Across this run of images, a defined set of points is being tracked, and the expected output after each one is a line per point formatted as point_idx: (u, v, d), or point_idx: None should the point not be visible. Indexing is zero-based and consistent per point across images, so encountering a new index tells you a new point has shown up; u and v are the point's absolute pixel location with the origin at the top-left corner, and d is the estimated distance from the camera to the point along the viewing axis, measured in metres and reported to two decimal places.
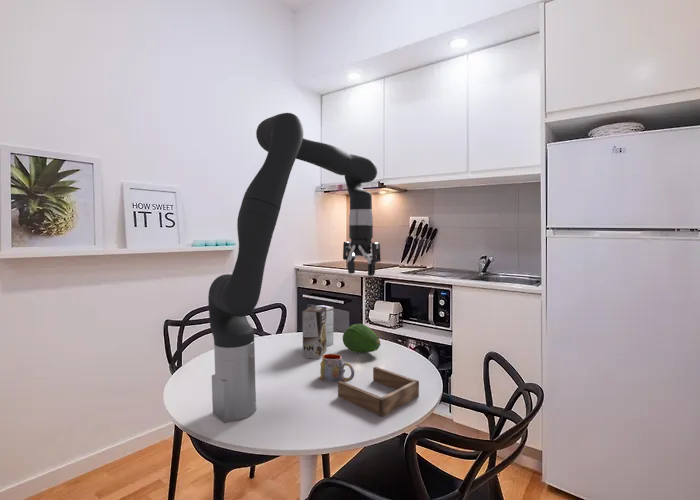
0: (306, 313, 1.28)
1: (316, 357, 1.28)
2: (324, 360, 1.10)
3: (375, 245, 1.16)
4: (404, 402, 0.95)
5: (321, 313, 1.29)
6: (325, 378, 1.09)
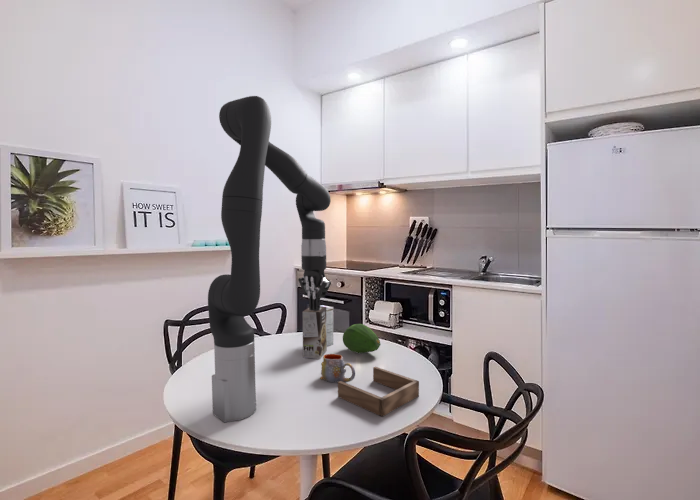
0: (306, 313, 1.28)
1: (316, 357, 1.28)
2: (325, 360, 1.10)
3: (325, 285, 1.11)
4: (404, 402, 0.95)
5: (321, 313, 1.29)
6: (326, 378, 1.09)
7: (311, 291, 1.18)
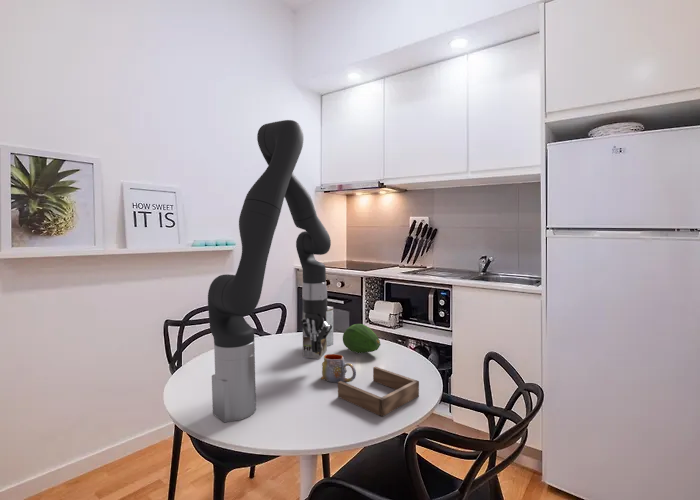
0: None
1: (316, 357, 1.28)
2: (326, 360, 1.10)
3: (326, 329, 1.12)
4: (404, 402, 0.95)
5: None
6: (327, 378, 1.09)
7: None
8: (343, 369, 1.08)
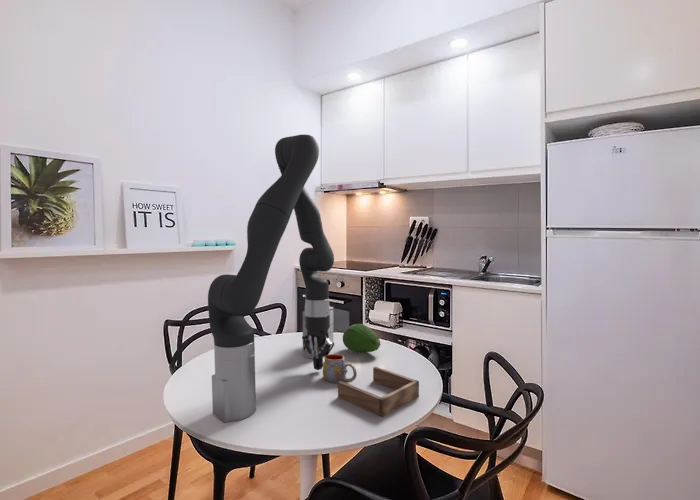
0: None
1: None
2: (326, 360, 1.09)
3: (328, 347, 1.11)
4: (404, 402, 0.95)
5: None
6: (327, 378, 1.08)
7: None
8: (344, 369, 1.08)
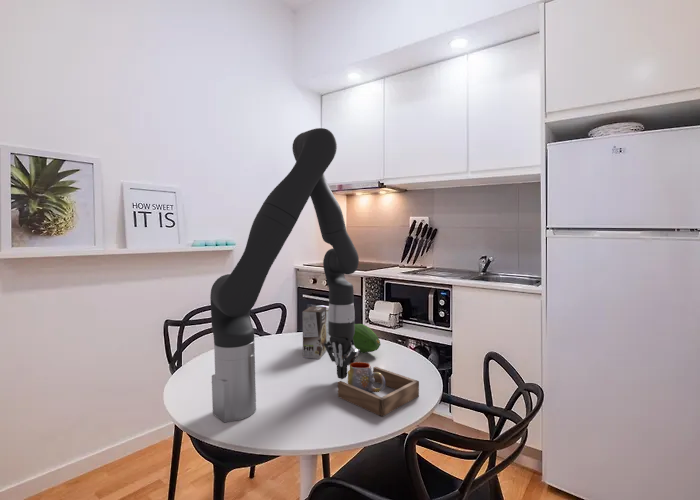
0: (306, 313, 1.28)
1: (316, 357, 1.28)
2: (352, 369, 1.03)
3: (354, 355, 1.04)
4: (404, 402, 0.95)
5: (321, 313, 1.29)
6: None
7: None
8: (371, 378, 1.01)
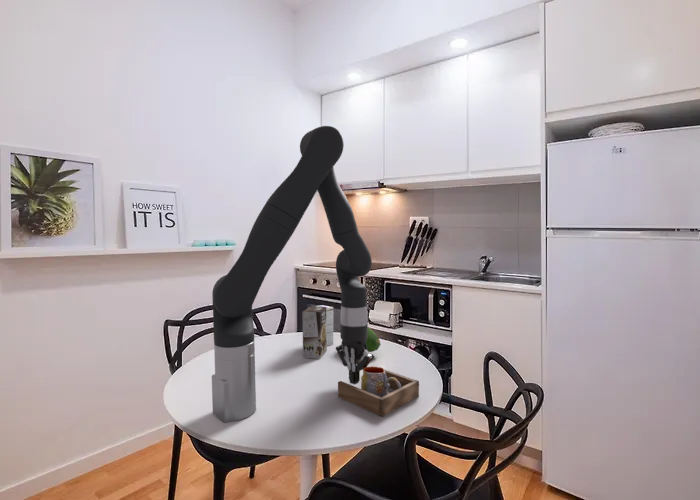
0: (306, 313, 1.28)
1: (316, 357, 1.28)
2: (366, 374, 0.99)
3: (367, 360, 1.00)
4: (404, 402, 0.95)
5: (321, 313, 1.29)
6: None
7: None
8: (386, 384, 0.98)
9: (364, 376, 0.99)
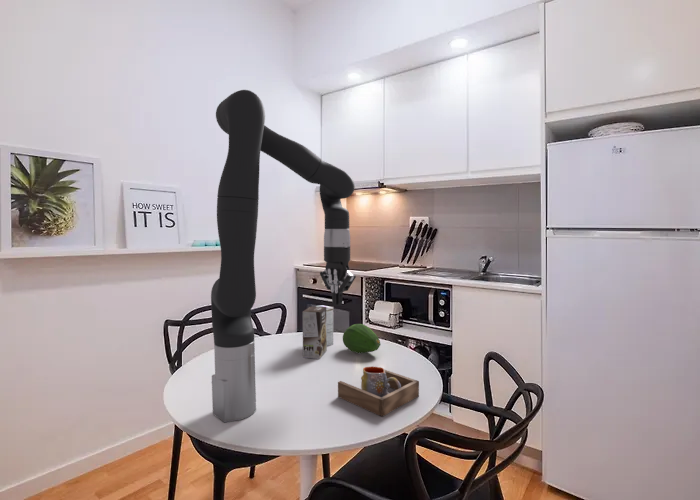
0: (306, 313, 1.28)
1: (316, 357, 1.28)
2: (366, 374, 0.99)
3: (349, 279, 1.03)
4: (404, 402, 0.95)
5: (321, 313, 1.29)
6: None
7: None
8: (386, 384, 0.98)
9: (364, 376, 0.99)
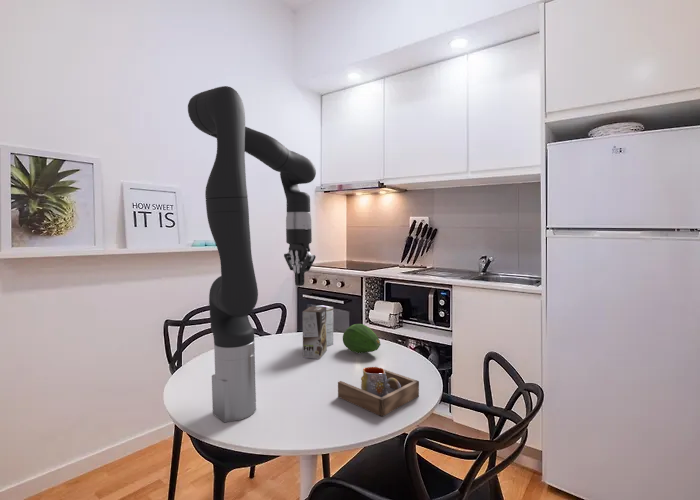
0: (306, 313, 1.28)
1: (316, 357, 1.28)
2: (366, 375, 0.99)
3: (309, 259, 1.09)
4: (404, 402, 0.95)
5: (321, 313, 1.29)
6: None
7: None
8: (386, 384, 0.98)
9: (364, 377, 0.99)
